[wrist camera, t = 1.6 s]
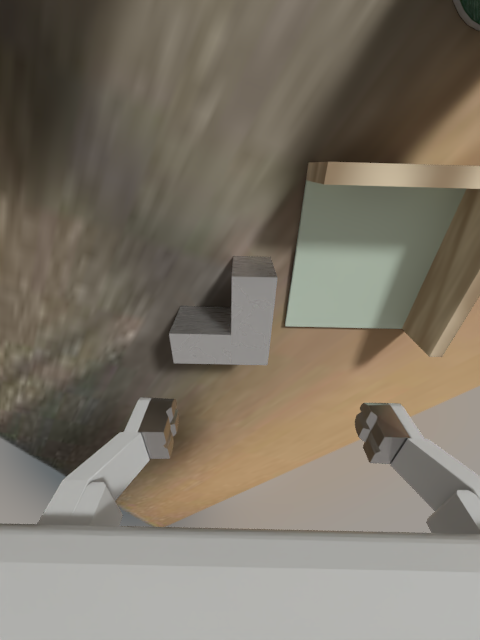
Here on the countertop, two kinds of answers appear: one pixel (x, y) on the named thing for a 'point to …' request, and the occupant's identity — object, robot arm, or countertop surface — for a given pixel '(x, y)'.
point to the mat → (365, 253)
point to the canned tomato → (469, 12)
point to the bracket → (230, 320)
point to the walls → (453, 254)
